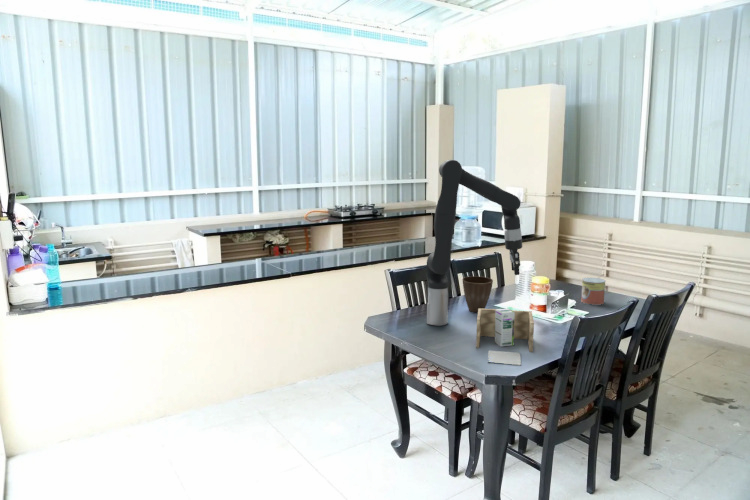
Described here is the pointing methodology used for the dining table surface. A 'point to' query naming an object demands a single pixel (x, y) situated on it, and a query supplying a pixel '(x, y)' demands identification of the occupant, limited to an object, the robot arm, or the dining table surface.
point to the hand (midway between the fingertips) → (515, 272)
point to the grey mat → (505, 357)
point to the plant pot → (477, 292)
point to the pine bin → (521, 325)
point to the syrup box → (504, 327)
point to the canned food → (593, 291)
